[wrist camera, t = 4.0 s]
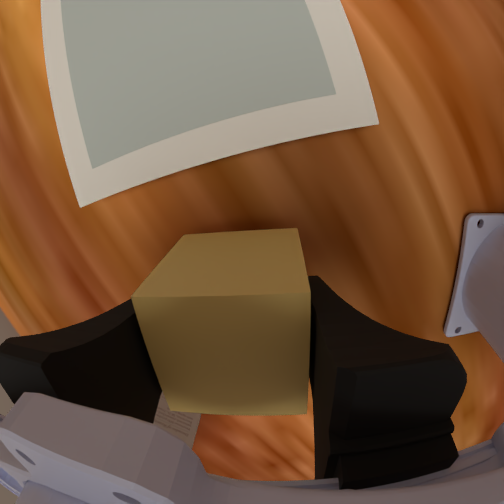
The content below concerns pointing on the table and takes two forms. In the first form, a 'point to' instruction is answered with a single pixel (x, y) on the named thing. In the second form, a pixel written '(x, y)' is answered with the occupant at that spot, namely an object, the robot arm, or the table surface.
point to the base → (194, 82)
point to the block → (230, 323)
